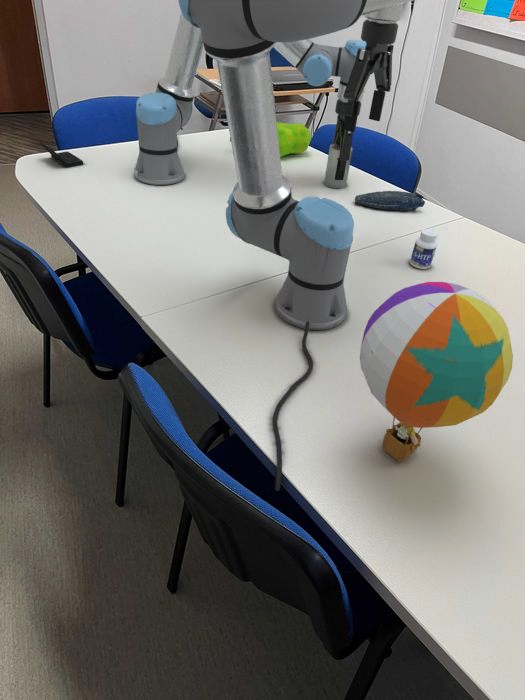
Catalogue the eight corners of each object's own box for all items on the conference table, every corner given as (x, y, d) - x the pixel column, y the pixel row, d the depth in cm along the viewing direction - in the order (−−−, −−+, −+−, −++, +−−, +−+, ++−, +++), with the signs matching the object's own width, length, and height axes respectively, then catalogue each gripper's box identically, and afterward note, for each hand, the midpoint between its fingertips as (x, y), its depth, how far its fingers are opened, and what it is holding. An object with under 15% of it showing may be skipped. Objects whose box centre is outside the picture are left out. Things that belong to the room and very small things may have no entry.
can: (327, 178, 176) (333, 142, 169) (348, 182, 174) (355, 146, 167) (321, 185, 171) (326, 147, 163) (342, 190, 169) (349, 152, 161)
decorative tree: (227, 117, 189) (306, 117, 195) (226, 146, 196) (303, 145, 201) (234, 131, 176) (319, 131, 181) (233, 162, 182) (315, 161, 187)
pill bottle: (408, 266, 131) (417, 234, 126) (410, 257, 135) (419, 225, 130) (429, 271, 130) (439, 239, 125) (431, 262, 134) (441, 230, 129)
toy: (311, 442, 83) (343, 281, 64) (387, 392, 94) (434, 241, 75) (410, 529, 72) (484, 365, 53) (484, 461, 83) (567, 304, 64)
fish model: (423, 215, 157) (428, 199, 154) (354, 208, 158) (357, 191, 155) (420, 206, 162) (425, 191, 159) (353, 199, 163) (356, 184, 160)
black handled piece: (88, 157, 170) (65, 134, 161) (76, 174, 168) (53, 153, 160) (67, 152, 176) (45, 131, 168) (56, 170, 175) (33, 149, 166)
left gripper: (369, 110, 149) (354, 187, 163) (354, 92, 165) (341, 164, 179) (343, 108, 148) (330, 186, 162) (331, 91, 164) (320, 163, 178)
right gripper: (389, 15, 120) (370, 112, 134) (338, 21, 104) (322, 131, 117) (419, 20, 117) (397, 119, 130) (372, 27, 101) (352, 139, 114)
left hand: (336, 175), depth 171 cm, fingers closed on can, 7 cm apart
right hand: (362, 125), depth 124 cm, fingers open, 13 cm apart
